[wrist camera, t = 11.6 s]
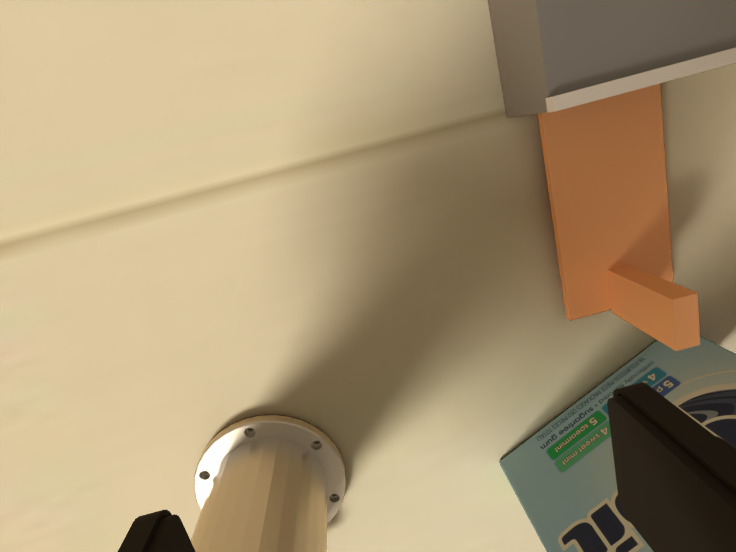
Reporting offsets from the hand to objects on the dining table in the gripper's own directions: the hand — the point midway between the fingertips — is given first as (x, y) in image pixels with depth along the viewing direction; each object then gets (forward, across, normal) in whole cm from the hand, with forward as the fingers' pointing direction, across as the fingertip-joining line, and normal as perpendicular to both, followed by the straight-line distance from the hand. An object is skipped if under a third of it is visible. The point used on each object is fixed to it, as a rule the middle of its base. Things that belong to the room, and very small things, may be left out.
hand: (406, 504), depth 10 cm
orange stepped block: (+25, -19, +2) cm, 32 cm away
